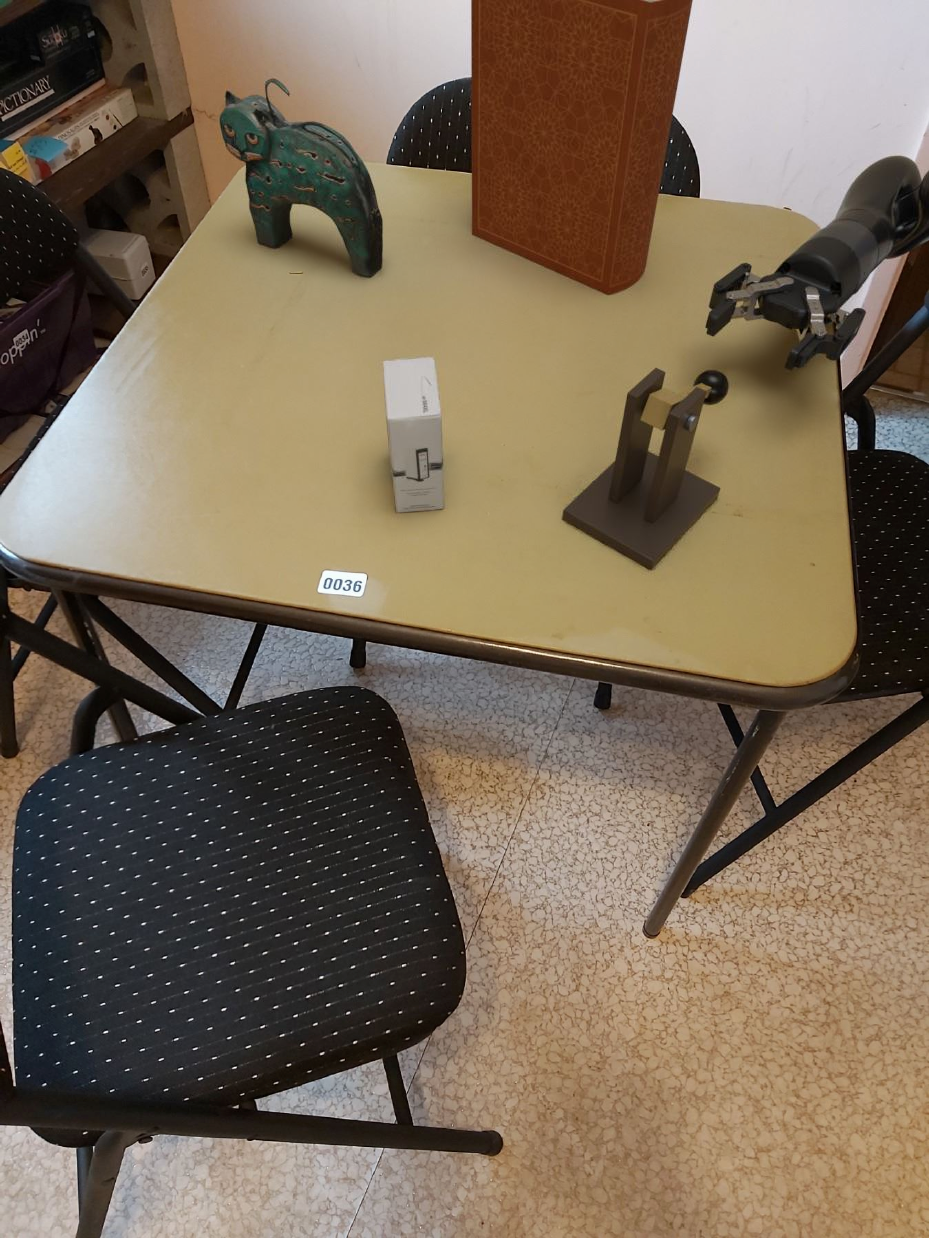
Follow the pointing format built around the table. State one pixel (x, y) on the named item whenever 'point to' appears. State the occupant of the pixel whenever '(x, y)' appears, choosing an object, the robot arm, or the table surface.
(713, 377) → the lever
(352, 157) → the ceramic cat
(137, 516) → the table surface
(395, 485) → the ink box
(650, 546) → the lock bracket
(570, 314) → the table surface
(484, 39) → the book
